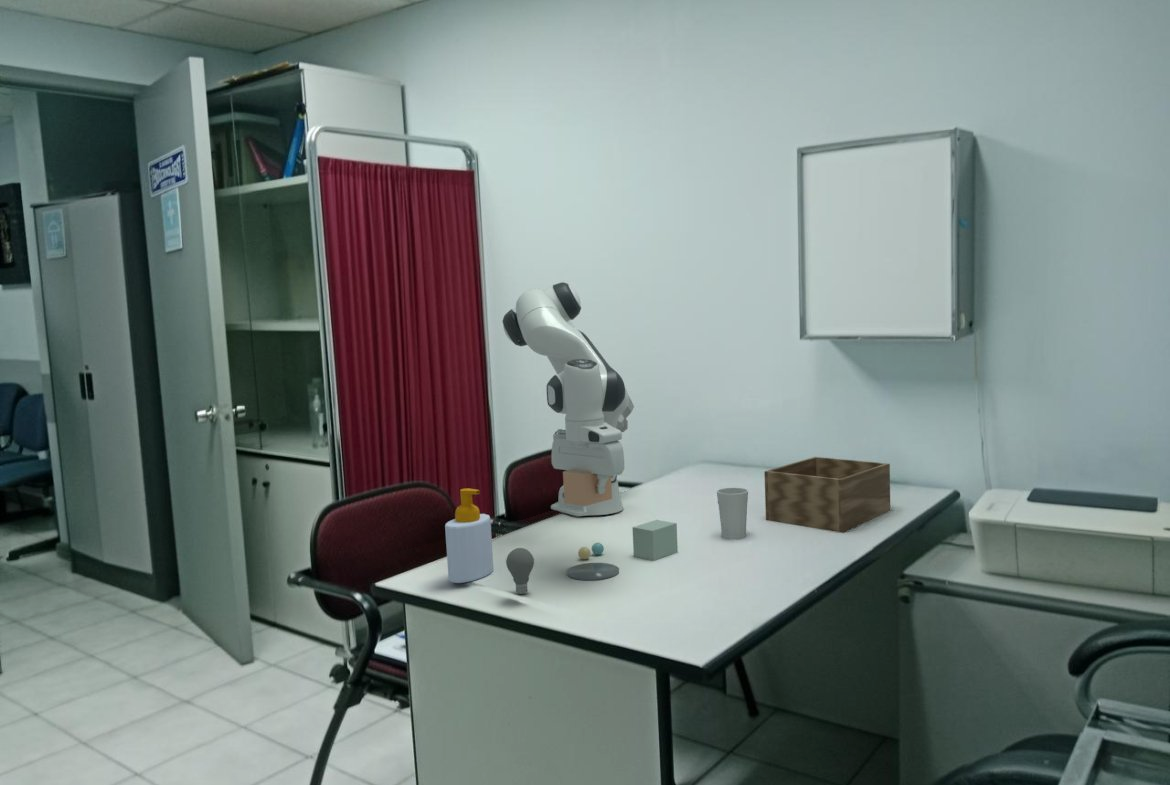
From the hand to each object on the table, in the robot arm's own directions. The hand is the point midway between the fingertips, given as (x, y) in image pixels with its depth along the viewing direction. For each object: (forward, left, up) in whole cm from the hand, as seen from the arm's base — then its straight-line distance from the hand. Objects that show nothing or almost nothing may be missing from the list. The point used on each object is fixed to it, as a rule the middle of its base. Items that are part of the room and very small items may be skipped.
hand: (588, 491), depth 209 cm
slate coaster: (0, 0, -19) cm, 19 cm away
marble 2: (-10, +10, -18) cm, 23 cm away
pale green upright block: (+2, +20, -19) cm, 28 cm away
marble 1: (-10, +6, -19) cm, 22 cm away
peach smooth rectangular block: (0, 0, -2) cm, 2 cm away
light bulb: (-2, -20, -19) cm, 28 cm away
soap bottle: (-22, -18, -19) cm, 34 cm away
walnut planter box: (+18, +74, -19) cm, 79 cm away
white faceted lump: (-44, +53, -19) cm, 72 cm away
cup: (+8, +44, -19) cm, 49 cm away
